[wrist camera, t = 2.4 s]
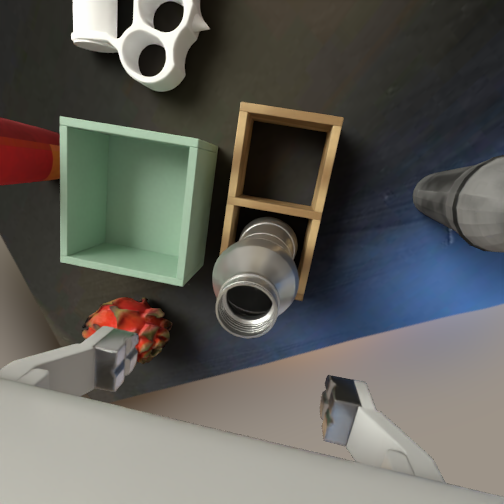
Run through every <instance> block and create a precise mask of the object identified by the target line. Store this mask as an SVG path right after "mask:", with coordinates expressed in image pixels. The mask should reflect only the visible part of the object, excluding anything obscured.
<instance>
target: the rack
mask: <svg viewBox="0 0 504 504" xmlns="http://www.w3.org/2000/svg"><path fill="white" fill-rule="evenodd" d="M343 119H344V118H343V117H337V116H331V115H324V114H318V113H311V112H305V111H298V110H291V109H285V108H278V107H272V106H265V105H259V104H252V103H246V102H241V105H240V112H239V119H238V126H237V133H236V141H235V148H234V155H233V162H232V169H231V176H230V183H229V191H228V198H227V205H226V212H225V220H224V227H223V234H222V241H221V248H220V255H221V253H222V252H223V251H225V250H226V249H227V248H228V247H230V246H231V245H233V244H234V243H235V240H236V233H237V227H238V220H239V214H240V207H241V206H242V207H248V208H253V209H259V210H264V211H270V212H276V213H281V214H287V215H292V216H298V217H303V218H309V219H308V224H307V229H306V233H305V238H304V243H303V247H302V252H301V257H300V261H299V266H298V277H299V287H298V291H297V294H296V297H295V300H300V301H302V300H303V296H304V292H305V288H306V283H307V279H308V274H309V270H310V265H311V261H312V257H313V252H314V248H315V243H316V239H317V234H318V230H319V225H320V220H321V217H322V212H323V208H324V203H325V199H326V194H327V190H328V185H329V181H330V177H331V172H332V168H333V163H334V159H335V154H336V150H337V145H338V141H339V137H340V132H341V128H342V123H343ZM254 121H259V122H265V123H272V124H278V125H284V126H291V127H297V128H304V129H310V130H316V131H323V132H327V135H326V140H325V145H324V149H323V154H322V159H321V163H320V168H319V173H318V177H317V182H316V187H315V191H314V196H313V201H312V205H311V206H312V207H311V206H306V205H300V204H294V203H289V202H283V201H277V200H272V199H266V198H260V197H255V196H249V195H243V188H244V181H245V174H246V168H247V161H248V155H249V148H250V142H251V135H252V128H253V122H254ZM220 255H219V256H220Z"/></svg>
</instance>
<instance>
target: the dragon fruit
mask: <svg viewBox="0 0 504 504" xmlns="http://www.w3.org/2000/svg"><path fill="white" fill-rule="evenodd" d="M139 301H140V302H137V301H135V300H133V299H131V298H128V297H122V298H118V299H116V300H113V301H110V302H107V303H103V304H101V305H100V306H101V308H100V309H99V310H98V311H97V312H95V313H94V314H92V315H90V316H89V317H88V318H87V320H86V322H85V324H84V325H83V326H82V328H85V327H86V326H88V327H89V328H88V329H87V330H82V335H83V337H84V338H85V339H87V338H88V337H90V336H91V335H92V334H93V333H95V332H96V331H97V330H98V329H100V328H101V327H102V326H108V327H113V328H117V329H122V330H126V331H130V332H134V333H137V334H138V335H139V343H138V344H137V345H136V346H135V348H136V349H137V351H138V356H137V361H138V362H140V363H142V364H144V363H145V362H150V361H151V360H152V359H153V357H155V355H157V354H158V353H160V352H161V350H162V348H163V347H164V346H165V344H167V343H168V341H169V338H170V335H169V332H168V330H171V328H172V325H173V324H172V323H171V322H170V321H169V320H167V319H164V318H160V317H164V315H165V313H164V312H163V311H161V309H160V308H155V309H154V308H151V307H150V305H149V304H148V303H147V301H148V299H146V298H142V299H141V300H139ZM164 327H168V328H167V329H168V330H167V329H165V328H164ZM137 361H136V363H137ZM135 365H136V364H135Z"/></svg>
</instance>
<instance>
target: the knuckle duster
mask: <svg viewBox="0 0 504 504" xmlns="http://www.w3.org/2000/svg"><path fill="white" fill-rule="evenodd" d="M168 1H172V2H176V3H178V4H180V5H182V6H184V15H183V19H182V21H181V23H180V25H179V26H178V27H177V28H176V29H175V30H173V31H171V32H166V33H165V32H160V31H158V30H156V29H154V25H153V18H154V14H155V12H156V10H157V8H158V7H159V6H160V5H161V4H163V3H164V2H168ZM117 10H118V0H73V33H71V39H72V41H74V44H75V45H76V46H78V47H81V48H84V49H88V50H92V51H97V52H104V53H115V52H117V53H119V57H120V60H121V63H122V65H123V67H124V69H125V70H126V72H127V73H128V74H129V75H130V76H131V77H132V78H133V79H135V80H136V81H138V82H140V83H141V84H143V85H145V86H146V87H148V88H150V89H152V90H154V91H159V92H164V91H169V90H172V89H174V88H175V87H177V86H178V85H179V84H180V83H181V82H182V80H183V79H184V77H185V75H186V74H185V58H186V55H187V52H188V50H189V48H190V47H191V45H192V44H193V43H194V42H195V41H196V40H197V38H198V35H199V32H200V31H204V30H209V29H210V28H209V27H208V25H207V24H206V23H205V22H204V20H203V18H202V15H201V11H200V0H134V8H133V24H132V25H131V27H129V28H128V29H127V30H126V31H125V32H124V33H123V35H122V36H121V37H120V38H118V39H117ZM151 44H157V45H160V46H162V47H164V48H165V51H166V63H165V66H164V68H163V70H162V71H161V72H160V73H159V74H158V75H156V76H153V77H146V76H143V75H142V74H141V72H140V70H139V65H138V60H139V56H140V53H141V52H142V50H143V49H144V48H145V47H146V46H148V45H151Z"/></svg>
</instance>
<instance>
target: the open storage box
mask: <svg viewBox="0 0 504 504" xmlns="http://www.w3.org/2000/svg"><path fill="white" fill-rule="evenodd" d="M217 153H218V146H216V145H213V144H210V143H208V142H205V141H203V140H200V139H196V138H190V137H184V136H178V135H172V134H166V133H160V132H154V131H148V130H141V129H135V128H129V127H123V126H117V125H111V124H105V123H99V122H93V121H86V120H80V119H74V118H68V117H62V116H60V254H61V256H60V259H61V262H63V263H68V264H73V265H78V266H83V267H88V268H93V269H97V270H102V271H107V272H112V273H117V274H122V275H127V276H132V277H137V278H142V279H147V280H152V281H157V282H162V283H167V284H171V285H176V286H181V287H183V286H184V285H185V284H186V283H187V282H188V281H189V280H190V279H191V278H192V276H193V275H194V274H195V273H196V272H197V271H198V270H199V269H200V268H201V267H202V266H203V264H204V256H205V248H206V240H207V233H208V225H209V217H210V209H211V201H212V193H213V185H214V177H215V169H216V161H217Z"/></svg>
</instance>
